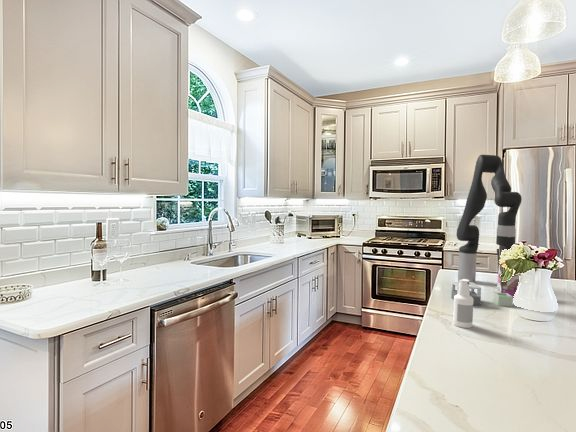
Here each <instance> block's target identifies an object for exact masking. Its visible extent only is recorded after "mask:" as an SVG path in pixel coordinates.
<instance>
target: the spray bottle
mask: <svg viewBox="0 0 576 432" xmlns="http://www.w3.org/2000/svg"><path fill="white" fill-rule="evenodd" d="M470 286H471V285H469V280H467V279H462V280H460V283H459V290H458V294H457V295H455V296H454V300H453V314H452V318H453V319H452V324H453V325H454V326H456V327H459V328H462V329H463V328H464V329H470V328H473V323H474V322H473V321H474V320H473V318H474V305H473V300H474V299H473V298H472V297H471V296H470V291H471V289H470Z"/></svg>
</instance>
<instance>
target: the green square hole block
mask: <svg viewBox="0 0 576 432" xmlns="http://www.w3.org/2000/svg"><path fill="white" fill-rule="evenodd" d="M492 295H493V298H492V299H493V300H492V303H494V304H495V305H497V306H498V307H513V303H514V302H513V301H514V299H513V298H514V297H513V296H511V295H509V294H508V293H497V291H496V292H493V294H492Z"/></svg>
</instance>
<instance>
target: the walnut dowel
mask: <svg viewBox="0 0 576 432" xmlns="http://www.w3.org/2000/svg"><path fill="white" fill-rule="evenodd" d="M502 272H503V268H502V267H501V274H502ZM501 286H507V281H506V282H501Z"/></svg>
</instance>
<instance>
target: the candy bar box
mask: <svg viewBox="0 0 576 432" xmlns="http://www.w3.org/2000/svg"><path fill="white" fill-rule="evenodd" d="M500 275H501V271H500V265H499V264H498V273H497V286H496V293H508V294H509V295H511V296H514V294H515V292H516V290H517V286H518V282H519V276H518V275H514V276H512V278H511V279H510V280H508V281H507V286H501V282H500Z"/></svg>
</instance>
